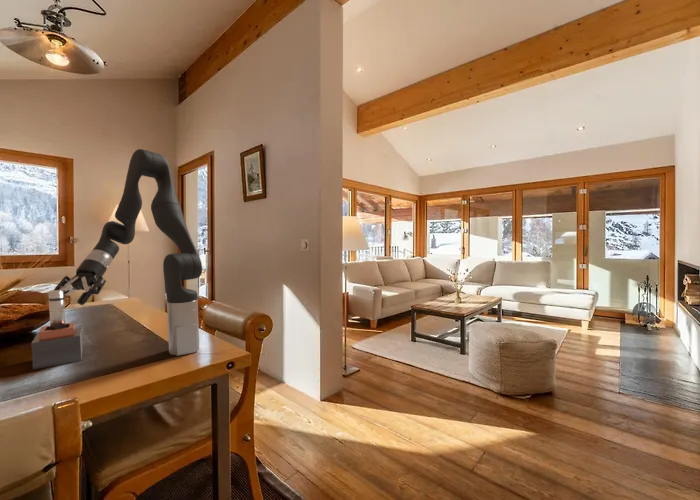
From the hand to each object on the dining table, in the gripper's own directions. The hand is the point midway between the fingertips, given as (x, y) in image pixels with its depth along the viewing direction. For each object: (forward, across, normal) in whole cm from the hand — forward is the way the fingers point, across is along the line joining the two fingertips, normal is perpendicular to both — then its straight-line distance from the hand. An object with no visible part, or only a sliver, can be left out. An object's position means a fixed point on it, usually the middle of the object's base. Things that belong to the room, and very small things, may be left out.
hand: (67, 303), depth 106 cm
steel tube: (+9, 0, +4) cm, 10 cm away
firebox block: (+15, 0, +9) cm, 18 cm away
